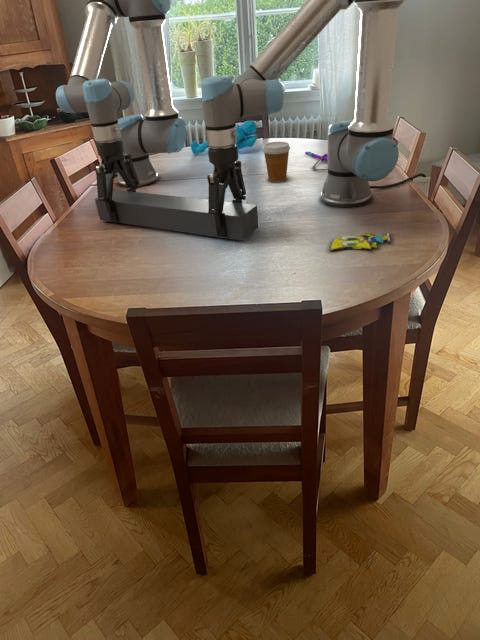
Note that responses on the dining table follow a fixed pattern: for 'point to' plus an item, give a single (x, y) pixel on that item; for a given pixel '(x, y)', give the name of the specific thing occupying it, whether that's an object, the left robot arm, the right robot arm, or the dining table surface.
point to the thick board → (180, 214)
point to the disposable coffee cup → (276, 160)
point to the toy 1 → (242, 140)
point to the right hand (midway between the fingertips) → (230, 229)
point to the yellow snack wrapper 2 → (358, 242)
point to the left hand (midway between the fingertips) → (125, 215)
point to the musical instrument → (324, 158)
